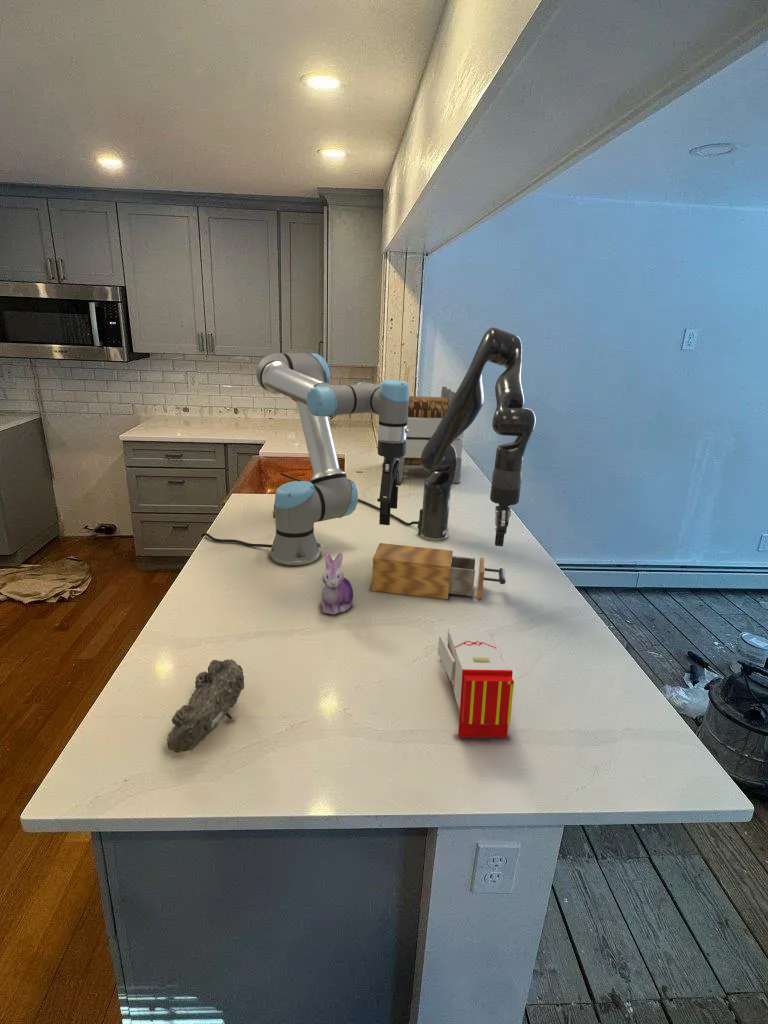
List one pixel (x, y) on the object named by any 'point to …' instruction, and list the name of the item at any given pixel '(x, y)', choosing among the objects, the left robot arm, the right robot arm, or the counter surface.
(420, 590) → the cabinet
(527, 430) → the right robot arm
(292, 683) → the counter surface
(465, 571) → the drawer
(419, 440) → the transformer
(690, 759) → the counter surface
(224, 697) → the fossil
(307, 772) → the counter surface
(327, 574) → the figurine
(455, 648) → the toy
